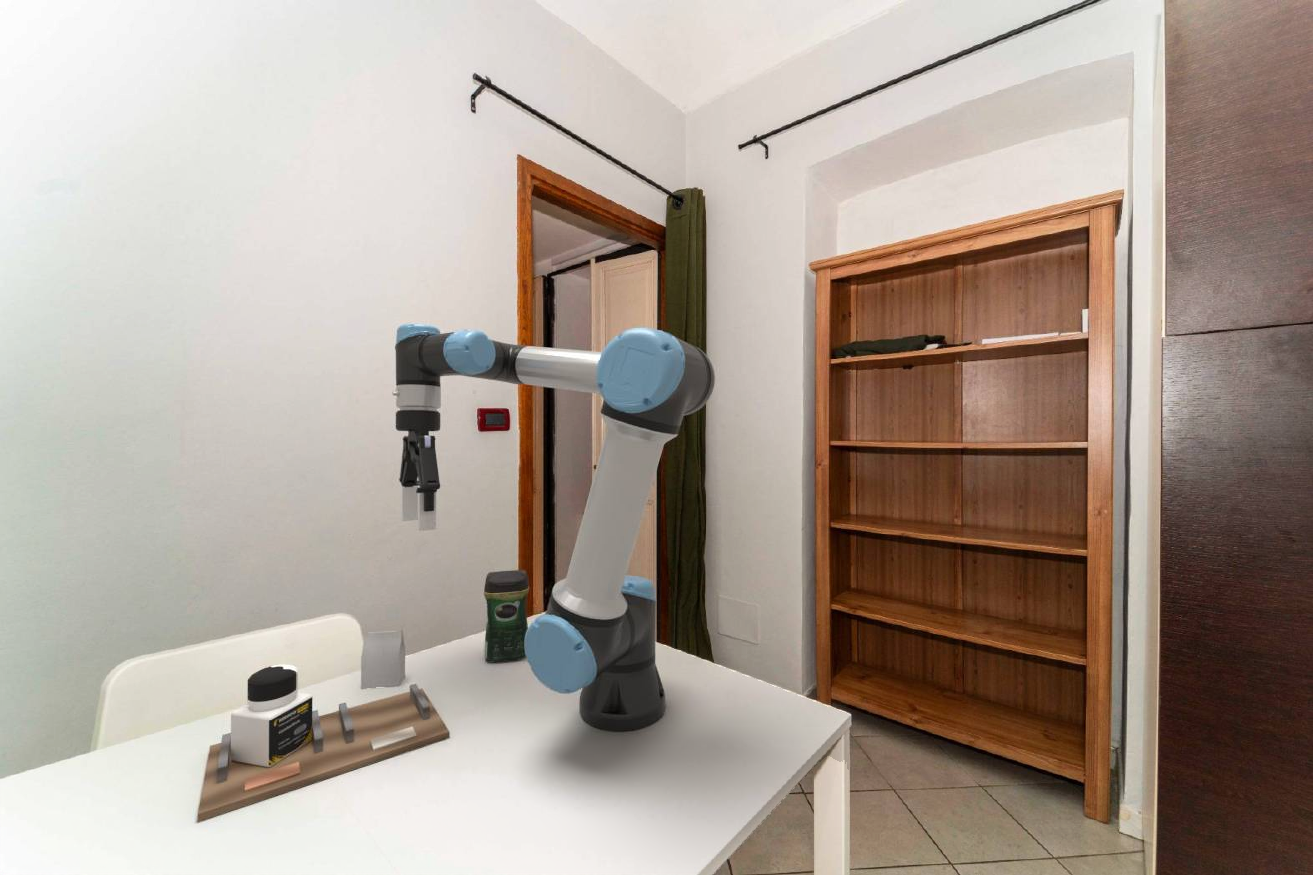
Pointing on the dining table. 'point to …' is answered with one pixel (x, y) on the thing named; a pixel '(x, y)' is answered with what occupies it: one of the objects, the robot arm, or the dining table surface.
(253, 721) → the medicine bottle
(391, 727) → the stand
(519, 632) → the coffee jar
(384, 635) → the grey boxy piece
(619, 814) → the dining table surface
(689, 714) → the dining table surface
